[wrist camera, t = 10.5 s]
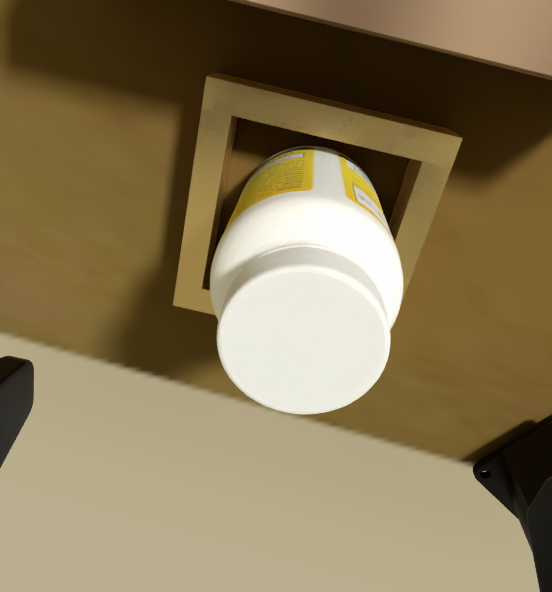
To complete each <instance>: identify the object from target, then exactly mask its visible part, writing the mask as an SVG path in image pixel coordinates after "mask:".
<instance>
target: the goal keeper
mask: <svg viewBox="0 0 552 592" xmlns="http://www.w3.org/2000/svg"><path fill="white" fill-rule="evenodd" d="M238 117H239V118H244V119H248V120H252V121H256V122H260V123H264V124H269V125H273V126H277V127H281V128H285V129H289V130H294V131H298V132H302V133H306V134H310V135H314V136H319V137H323V138H327V139H331V140H335V141H339V142H344V143H348V144H352V145H356V146H360V147H364V148H369V149H373V150H377V151H381V152H385V153H389V154H394V155H398V156H402V157H406V158H410V160H409V163H408V166H407V169H406V172H405V175H404V178H403V181H402V184H401V187H400V190H399V193H398V196H397V199H396V202H395V205H394V208H393V211H392V214H391V217H390V220H389V223H388V226H389V229H390V232H391V235H392V237H393V240H394V242H395V245H396V248H397V250H398V253H399V258H400V262H401V267H402V272H403V295H402V300H403V298H404V295H405V292H406V290H407V287H408V284H409V282H410V279H411V276H412V274H413V271H414V268H415V266H416V263H417V260H418V257H419V255H420V252H421V249H422V247H423V244H424V241H425V239H426V236H427V233H428V231H429V228H430V225H431V222H432V220H433V217H434V214H435V212H436V209H437V206H438V204H439V201H440V198H441V196H442V193H443V190H444V188H445V185H446V182H447V179H448V177H449V174H450V171H451V169H452V166H453V163H454V161H455V158H456V155H457V153H458V150H459V147H460V145H461V142H462V139H463V138H462V137H460V136H459V135H457V134H456V133H455V132H453V131H452V130H450V129H449V128H445V127H440V126H436V125H432V124H428V123H424V122H420V121H416V120H412V119H407V118H403V117H399V116H395V115H391V114H387V113H383V112H379V111H374V110H370V109H366V108H362V107H358V106H354V105H350V104H346V103H341V102H337V101H333V100H329V99H325V98H321V97H317V96H313V95H308V94H304V93H300V92H296V91H292V90H288V89H284V88H280V87H275V86H271V85H267V84H263V83H259V82H255V81H251V80H247V79H242V78H238V77H234V76H230V75H226V74H222V73H218V72H217V73H214V74H211V75H208V76H206V82H205V89H204V95H203V102H202V109H201V116H200V123H199V130H198V137H197V143H196V150H195V157H194V164H193V171H192V178H191V184H190V191H189V198H188V205H187V212H186V219H185V226H184V232H183V239H182V246H181V253H180V260H179V267H178V273H177V280H176V287H175V294H174V301H173V306H178V307H182V308H187V309H191V310H195V311H200V312H204V313H209V314H213V315H215V312H214V309H213V305H212V302H211V297H210V273H211V266H212V261H213V256H214V250H215V244H216V239H217V233H218V227H219V222H220V216H221V210H222V205H223V199H224V194H225V188H226V182H227V177H228V171H229V165H230V160H231V154H232V149H233V143H234V137H235V132H236V126H237V120H238ZM402 300H401V303H402ZM400 306H401V305H400ZM393 325H394V324H393ZM392 327H393V326H392ZM391 330H392V328H391V329H390V333H391Z"/></svg>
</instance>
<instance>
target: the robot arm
mask: <svg viewBox="0 0 552 592" xmlns="http://www.w3.org/2000/svg"><path fill="white" fill-rule="evenodd" d="M33 395H34V368H33V364H32V362H31V361H29V360H26V359H22V358H17V357H13V356H5V357H2V358H0V468H1V466H2V464H3V462H4V460H5V458H6V456H7V454H8V452H9V450H10V449H11V447H12V445H13V443H14V441H15V440H16V437H17V436H18V434H19V432H20V430H21V428H22V426H23V425H24V423H25V421H26V419H27V417H28V415H29V413H30V411H31V408H32V405H33ZM482 471H486V472H482ZM473 473H474V475H475V478H476V479H477V480H478V481H479V482H480V483H481V484H482V485H483V486H484V487H485V488H486V489H487V490H488V491H489V492H490V493H491V494H493V496H495V497H496V498H497V499H498V500H499V501H500V502H501V503H502V504H503V505H504V506H505V507H506V508H507V509H508V510H509V511H510V512H511V513H512V514H514V515H515V516H516V517H517V518H518V519H519V521H520V523H521V526H522V528H523V530H524V533H525V535H526V538H527V540H528V543H529V545H530V547H531V550H532V552H533V557H534V562H535V567H536V572H537V578H538V583H539V588H540V592H552V419H551V420H549V421H548V422H546V423H544V424H542V425H541V426H539V427H537V428H536V429H534V430H532V431H530V432H529V433H527V434H525V435H523V436H522V437H520V438H518V439H517V440H515V441H513V442H511V443H510V444H508V445H506V446H505V447H503V448H501V449H499V450H498V451H496V452H494V453H493V454H491V455H489V456H487V457H486V458H484V459H482V460H480V461H479V462H477V463H476V464H475V465H474V466H473Z"/></svg>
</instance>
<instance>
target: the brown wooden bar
mask: <svg viewBox="0 0 552 592" xmlns="http://www.w3.org/2000/svg"><path fill="white" fill-rule="evenodd" d="M228 1H232V2H236V3H240V4H245V5H249V6H253V7H257V8H261V9H265V10H269V11H273V12H277V13H281V14H285V15H289V16H293V17H297V18H301V19H305V20H309V21H313V22H317V23H322V24H326V25H330V26H334V27H338V28H342V29H346V30H350V31H354V32H358V33H362V34H366V35H370V36H374V37H378V38H382V39H386V40H390V41H394V42H399V43H403V44H407V45H411V46H415V47H419V48H423V49H427V50H431V51H435V52H439V53H443V54H447V55H451V56H455V57H459V58H463V59H467V60H471V61H475V62H480V63H484V64H488V65H492V66H496V67H500V68H504V69H508V70H512V71H516V72H520V73H524V74H528V75H532V76H536V77H540V78H544V79H548V80H552V0H228Z"/></svg>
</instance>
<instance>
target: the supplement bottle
mask: <svg viewBox="0 0 552 592" xmlns="http://www.w3.org/2000/svg"><path fill="white" fill-rule="evenodd" d="M402 295H403V272H402V267H401V262H400V258H399V253H398V250H397V248H396V245H395V242H394V240H393V237H392V235H391V232H390V229H389V226H388V224H387V221H386V219H385V216H384V213H383V210H382V208H381V205H380V202H379V199H378V196H377V193H376V191H375V189H374V187H373V185H372V183H371V181H370V180H369V178H368V177H367V175H366V174H365V172H364V171H363V170H362V169H361V168H360V167H359V166H358V165H357V164H356V163H355V162H354V161H353V160H351V159H350V158H349V157H347V156H345V155H344V154H342V153H340V152H337V151H335V150H332V149H329V148H326V147H320V146H299V147H293V148H290V149H286V150H284V151H281V152H279V153H277V154H275V155H273V156H271V157H270V158H268V159H267V160H266V161H265V162H263V163H262V164H261V165H260V166H259V167H258V168H257V169H256V170H255V172H254V173H253V174H252V175H251V177H250V178H249V180H248V182H247V183H246V185H245V187H244V189H243V191H242V193H241V196H240V198H239V201H238V203H237V205H236V208H235V210H234V212H233V214H232V216H231V218H230V220H229V222H228V224H227V227H226V229H225V231H224V233H223V235H222V237H221V239H220V241H219V244H218V246H217V249H216V252H215V255H214V258H213V262H212V266H211V273H210V297H211V302H212V305H213V309H214V312H215V315H216V317H217V320H218V326H217V348H218V353H219V357H220V360H221V363H222V365H223V367H224V370H225V371H226V373H227V374H228V376H229V378H230V379H231V380H232V381H233V382H234V384H235V385H236V386H237V387H238V388H239V389H240V390H241V391H242V392H244V393H245V394H246V395H247V396H249V397H250V398H252V399H253V400H255V401H256V402H258V403H260V404H262V405H264V406H267V407H269V408H272V409H275V410H278V411H282V412H286V413H293V414H317V413H324V412H329V411H332V410H336V409H339V408H341V407H344V406H346V405H348V404H350V403H352V402H353V401H355V400H357V399H358V398H360V397H361V396H362V395H363V394H365V393H366V392H367V391H368V390H369V389H370V388H371V387H372V386H373V384H374V383H375V382H376V381H377V380H378V379H379V377H380V375H381V373H382V372H383V370H384V367H385V365H386V362H387V359H388V355H389V349H390V329H391V328H392V326H393V324H394V322H395V320H396V317H397V315H398V312H399V309H400V305H401V300H402Z"/></svg>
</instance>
